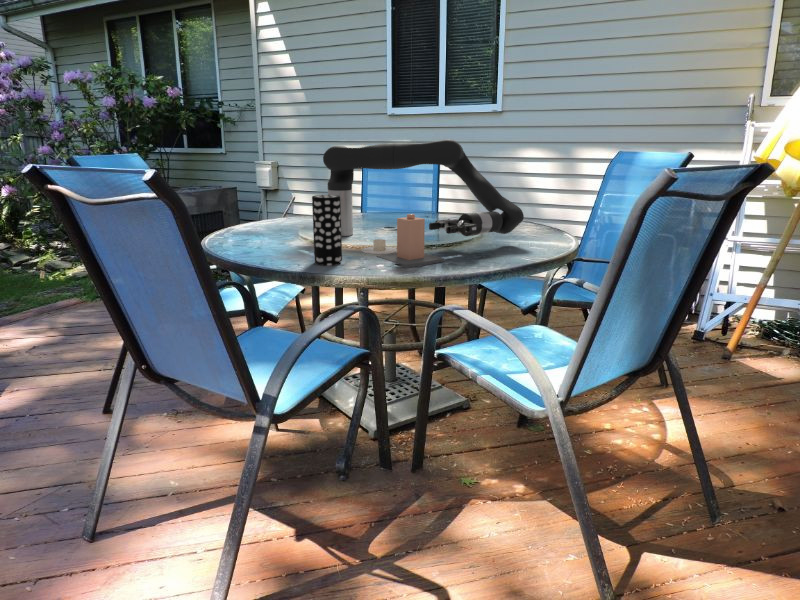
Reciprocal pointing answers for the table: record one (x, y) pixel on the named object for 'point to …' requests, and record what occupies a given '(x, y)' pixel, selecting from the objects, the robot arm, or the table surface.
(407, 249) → the tan capped carton
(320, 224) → the spotted tube
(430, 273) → the table surface
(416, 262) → the mat
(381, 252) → the saucer
